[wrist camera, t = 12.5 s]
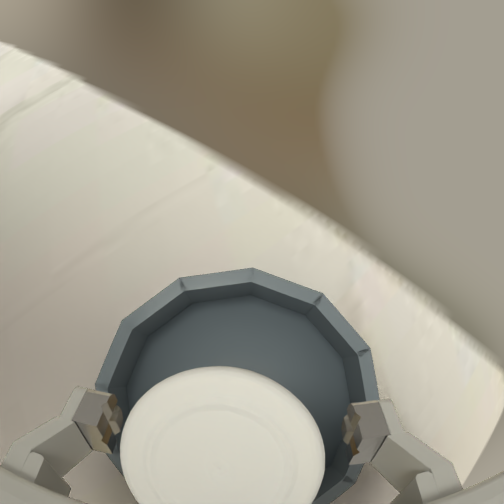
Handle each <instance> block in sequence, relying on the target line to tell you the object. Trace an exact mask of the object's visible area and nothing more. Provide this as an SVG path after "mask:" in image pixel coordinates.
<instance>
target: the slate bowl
mask: <svg viewBox="0 0 504 504" xmlns="http://www.w3.org/2000/svg"><path fill="white" fill-rule="evenodd" d="M210 366H229V367H237V368H242V369H247V370H250V371H254V372H256V373H259V374H261V375H264V376H266V377H268V378H270V379H272V380H274V381H275V382H277V383H279V384H280V385H282V386H283V387H284V388H286V389H287V390H289V391H290V392H291V393H292V394H293V395H294V396H296V397H297V398H298V399H299V400H300V401H301V402H302V403H303V405H304V406H305V407H306V408H307V409H308V411H309V412H310V414H311V415H312V417H313V418H314V420H315V422H316V424H317V426H318V428H319V431H320V433H321V436H322V440H323V444H324V450H325V472H324V476H323V479H322V482H321V485H320V488H319V491H318V493H317V495H316V497H315V499H314V500H313V502H312V504H330V503H331V502H332V501H334V500H335V499H336V498H337V497H339V496H340V495H341V494H343V493H344V492H345V491H346V490H348V489H349V488H350V487H351V486H352V485H354V484H355V482H356V480H357V478H358V476H359V474H360V471H361V469H362V467H363V465H364V463H362V464H354V465H348V461H347V457H346V452H345V450H346V448H347V446H348V445H347V444H346V443H345V442H344V441H343V439H342V433H341V426H342V421H343V418H344V417H345V416H346V415H347V414H348V413H347V407H348V405H349V404H350V403H357V402H365V401H373V400H379V394H378V388H377V382H376V376H375V371H374V365H373V360H372V355H371V350H370V347H369V346H368V345H367V344H366V343H365V341H364V340H363V339H362V338H361V337H360V336H359V334H358V333H357V332H356V331H355V330H354V329H353V327H352V326H351V325H350V324H349V323H348V322H347V321H346V319H345V318H344V317H343V316H342V315H341V314H340V312H339V311H338V310H337V309H336V308H335V307H334V306H333V304H332V303H331V302H330V301H329V300H328V299H327V298H326V296H325V295H324V294H323V293H321V292H318V291H315V290H312V289H310V288H307V287H304V286H301V285H299V284H296V283H293V282H290V281H288V280H285V279H282V278H279V277H277V276H274V275H271V274H269V273H266V272H263V271H260V270H258V269H255V268H247V269H240V270H233V271H226V272H219V273H211V274H204V275H196V276H189V277H182V278H179V279H177V280H176V281H174V282H173V283H172V284H170V285H169V286H168V287H166V288H165V289H164V290H162V291H161V292H160V293H158V294H157V295H155V296H154V297H153V298H151V299H150V300H149V301H147V302H146V303H145V304H143V305H142V306H141V307H139V308H138V309H137V310H135V311H134V312H133V313H131V314H130V315H129V316H127V317H126V318H125V319H123V320H122V322H121V324H120V326H119V328H118V331H117V333H116V335H115V338H114V340H113V342H112V344H111V347H110V349H109V352H108V354H107V356H106V359H105V361H104V364H103V366H102V368H101V371H100V373H99V376H98V378H97V381H96V383H95V388H96V391H101V392H106V393H110V394H115V396H116V398H117V403H116V405H118V406H119V407H120V408H121V410H122V414H123V424H122V428H121V431H120V432H119V433H117V434H116V435H115V436H116V439H117V443H116V446H115V448H114V451H113V454H109V453H106V454H107V456H108V457H109V458H110V460H111V461H112V462H113V464H114V465H115V466H116V468H117V469H118V470H119V471H120V473H121V474H122V475H123V476H124V474H123V470H122V466H121V459H120V442H121V436H122V431H123V428H124V425H125V422H126V420H127V418H128V416H129V414H130V411H131V410H132V409H133V407H134V406H135V404H136V403H137V401H138V400H139V399H140V398H141V397H142V396H143V395H144V394H145V393H146V392H147V391H148V390H150V389H151V388H152V387H153V386H155V385H156V384H158V383H159V382H161V381H163V380H165V379H166V378H168V377H170V376H173V375H175V374H177V373H180V372H183V371H186V370H191V369H195V368H201V367H210ZM124 478H125V477H124Z"/></svg>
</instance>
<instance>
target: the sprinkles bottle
mask: <svg viewBox="0 0 504 504" xmlns="http://www.w3.org/2000/svg"><path fill="white" fill-rule="evenodd" d="M120 459H121V466H122V470H123V474H124V477H125V480H126V482H127V485H128V487H129V489H130V491H131V493H132V494H133V496H134V498H135V499H136V501H137V502H138V503H139V504H312V502H313V500H314V499H315V497H316V495H317V493H318V491H319V488H320V485H321V482H322V479H323V476H324V472H325V450H324V444H323V440H322V436H321V433H320V431H319V428H318V426H317V424H316V422H315V420H314V418H313V417H312V415H311V414H310V412H309V411H308V409H307V408H306V407H305V406H304V405H303V403H302V402H301V401H300V400H299V399H298V398H297V397H296V396H294V395H293V394H292V393H291V392H290V391H289V390H287V389H286V388H284V387H283V386H282V385H280V384H279V383H277V382H275V381H274V380H272V379H270V378H268V377H266V376H264V375H261V374H259V373H256V372H254V371H250V370H247V369H242V368H237V367H229V366H210V367H201V368H195V369H191V370H186V371H183V372H180V373H177V374H175V375H173V376H170V377H168V378H166V379H165V380H163V381H161V382H159V383H158V384H156V385H155V386H153V387H152V388H151V389H150V390H148V391H147V392H146V393H145V394H144V395H143V396H142V397H141V398H140V399H139V400H138V401H137V403H136V404H135V406H134V407H133V409H132V410H131V411H130V414H129V416H128V418H127V420H126V422H125V425H124V428H123V431H122V436H121V442H120Z"/></svg>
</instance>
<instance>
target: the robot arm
mask: <svg viewBox="0 0 504 504" xmlns="http://www.w3.org/2000/svg"><path fill="white" fill-rule="evenodd" d="M116 403H117V398H116V396H115V394H110V393H106V392H101V391H96V390H92V389H88V388H83V387H79V386H77V387H76V388H75V389H74V390H73V392H72V394H71V396H70V398H69V400H68V401H67V403H66V405H65V407H64V409H63V411H62V413H61V415H60V417H57V416H56V417H54V418H53V419H51V420H49V421H48V422H46V423H44V424H43V425H41V426H39V427H38V428H36V429H34V430H33V431H31V432H29V433H28V434H26V435H24V436H23V437H21V438H19V439H17V440H16V441H14V442H13V443H12V445H11V447H10V449H9V451H8V453H7V455H6V457H5V459H4V461H3V463H2V465H1V466H0V504H87V503H84V502H81V501H78V500H75V499H73V498H70V497H68V496H69V493H70V490H71V488H70V486H69V485H68V484H67V483H66V482H65V480H64V479H63V478H62V477H63V476H64V475H65V474H66V473H67V472H68V471H70V470H71V469H72V468H73V467H74V466H76V465H77V464H78V463H79V462H80V461H81V460H83V459H84V458H85V457H86V456H87V455H88V454H89V453H91V452H92V450H95V451H100V452H104V453H109V454H113V451H114V448H115V446H116V443H117V439H116V436H115V435H116V434H117V433H119V432H120V431H121V428H122V424H123V414H122V410H121V408H120V407H119V406H118V405H116ZM347 413H348V414H347V415H346V416H345V417H344V418H343V421H342V426H341V433H342V439H343V441H344V442H345V443H346V444H347V445H348V446H347V448H346V450H345V452H346V457H347V461H348V465H354V464H362V463H369V462H371V464H372V465H373V467H374V468H375V469H376V470H377V471H378V472H379V473H380V474H381V475H382V476H383V477H384V478H385V479H386V480H387V481H388V482H390V483H391V484H392V485H393V486H394V487H395V488H396V489H397V490H398V491H399V492H400V494H399V495H398V496H397V497H396V498H395V499H394V500H393V501H392V502H391V503H390V504H504V471H502V472H500V473H498V474H496V475H495V476H492V477H490V478H488V479H486V480H484V481H482V482H480V483H477V484H475V485H473V486H471V487H468V488H466V489H463V488H462V486H461V483H460V481H459V478H458V476H457V473H456V471H455V468H454V466H453V464H452V462H450V461H449V460H447V459H446V458H444V457H443V456H442V455H440V454H439V453H437V452H436V451H434V450H433V449H432V448H430V447H429V446H427V445H426V444H425V443H423V442H422V441H420V440H419V439H418V438H416V437H415V436H413V435H412V434H411V433H409V432H404V429H403V427H402V424H401V422H400V419H399V417H398V414H397V412H396V409H395V407H394V405H393V402H392V400H391V399H383V400H373V401H365V402H357V403H350V404H349V405H348V407H347Z"/></svg>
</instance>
